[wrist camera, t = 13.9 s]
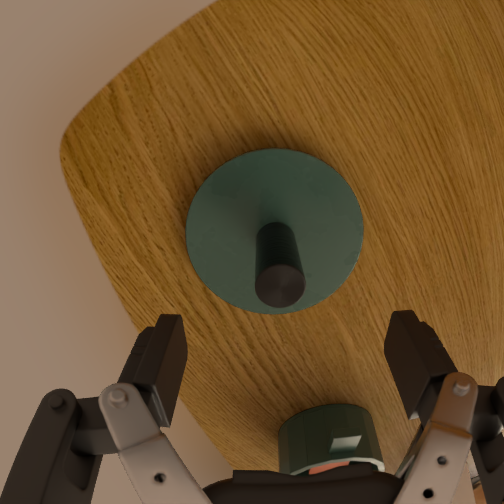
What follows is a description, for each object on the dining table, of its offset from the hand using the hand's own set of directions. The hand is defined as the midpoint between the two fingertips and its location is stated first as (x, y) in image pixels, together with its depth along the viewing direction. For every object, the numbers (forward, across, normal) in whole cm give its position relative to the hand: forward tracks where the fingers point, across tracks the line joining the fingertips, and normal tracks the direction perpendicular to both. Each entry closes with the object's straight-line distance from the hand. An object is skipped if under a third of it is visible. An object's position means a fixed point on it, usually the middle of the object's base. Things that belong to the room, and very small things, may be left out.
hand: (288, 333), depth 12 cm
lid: (+10, 0, 0) cm, 10 cm away
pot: (+10, -6, +23) cm, 26 cm away
